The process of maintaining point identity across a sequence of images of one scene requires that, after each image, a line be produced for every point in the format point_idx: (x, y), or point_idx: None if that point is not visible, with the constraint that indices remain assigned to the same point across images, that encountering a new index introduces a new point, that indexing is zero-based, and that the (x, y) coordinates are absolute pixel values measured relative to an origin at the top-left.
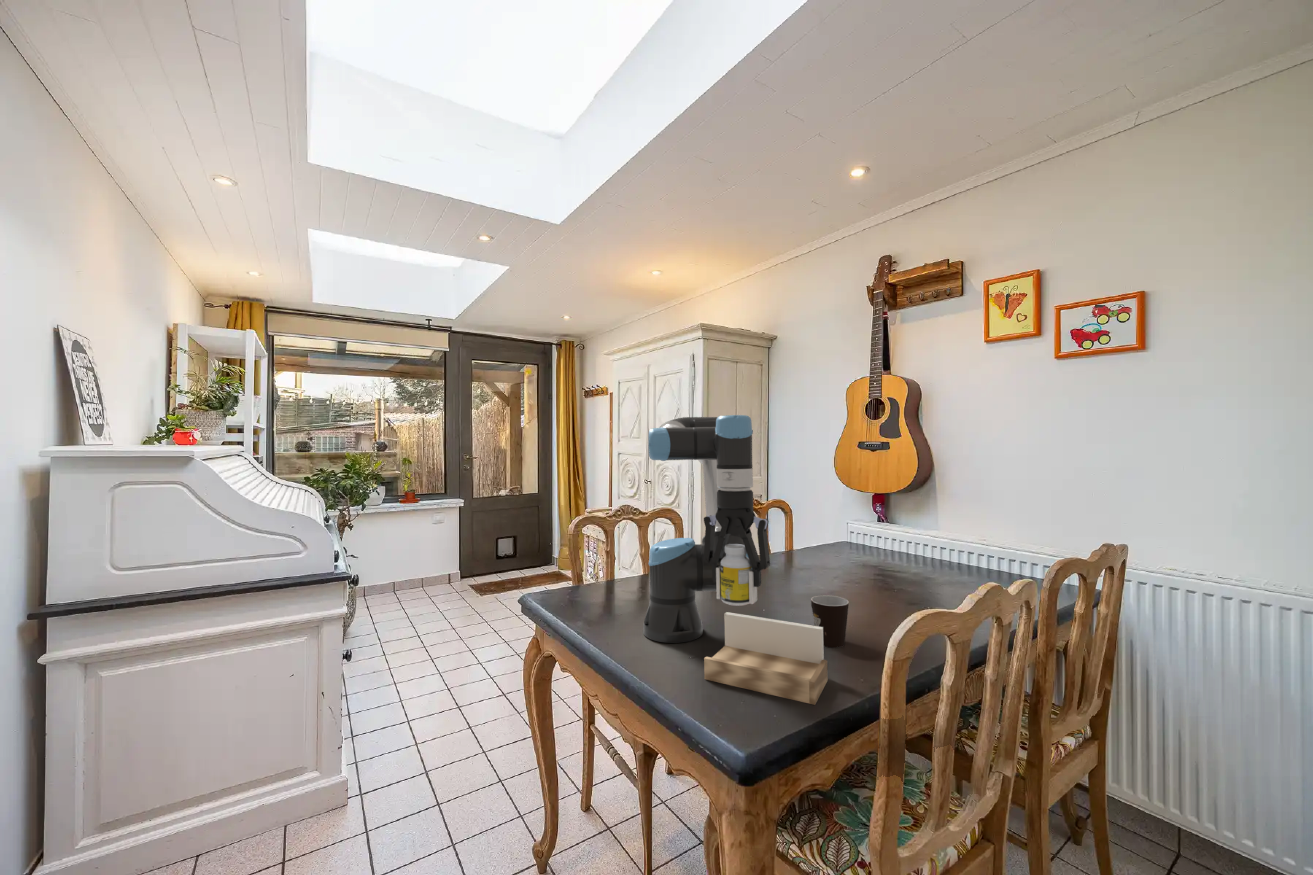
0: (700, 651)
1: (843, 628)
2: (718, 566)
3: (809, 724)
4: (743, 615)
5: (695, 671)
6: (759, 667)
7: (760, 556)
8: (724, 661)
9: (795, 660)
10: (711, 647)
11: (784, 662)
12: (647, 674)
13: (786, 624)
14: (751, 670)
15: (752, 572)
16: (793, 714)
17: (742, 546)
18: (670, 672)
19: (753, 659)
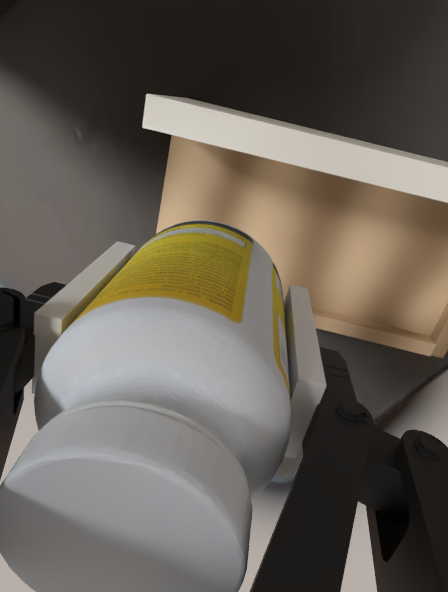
0: (91, 74)
1: None
2: (33, 358)
3: (397, 401)
4: (229, 126)
5: (124, 227)
6: (299, 267)
7: (383, 587)
8: None
9: None
10: (115, 22)
11: (375, 215)
12: (22, 271)
13: (423, 196)
14: None
15: (297, 451)
16: (370, 374)
17: (193, 567)
18: (67, 248)
19: (279, 215)
